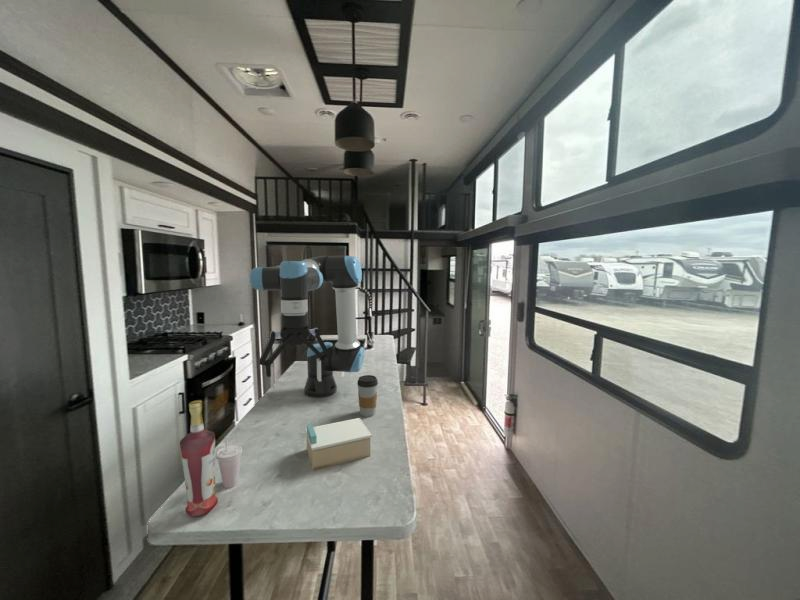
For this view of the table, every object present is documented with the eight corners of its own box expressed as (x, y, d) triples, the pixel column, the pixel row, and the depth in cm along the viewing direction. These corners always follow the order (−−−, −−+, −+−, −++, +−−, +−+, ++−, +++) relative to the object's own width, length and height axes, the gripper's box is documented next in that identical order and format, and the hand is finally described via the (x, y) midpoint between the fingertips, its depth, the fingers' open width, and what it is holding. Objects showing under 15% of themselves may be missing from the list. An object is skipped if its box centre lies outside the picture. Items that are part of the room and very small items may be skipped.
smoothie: (224, 476, 94) (221, 430, 93) (247, 475, 95) (244, 429, 93) (213, 492, 88) (210, 443, 86) (238, 490, 89) (235, 442, 87)
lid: (305, 430, 108) (305, 421, 107) (359, 419, 115) (359, 411, 115) (311, 450, 96) (311, 440, 96) (371, 437, 104) (371, 427, 104)
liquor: (215, 517, 79) (208, 407, 76) (180, 524, 77) (172, 411, 74) (222, 496, 86) (216, 395, 83) (190, 502, 84) (183, 398, 81)
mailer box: (306, 449, 108) (306, 432, 108) (358, 437, 116) (358, 421, 115) (313, 470, 97) (312, 451, 97) (370, 455, 105) (370, 438, 104)
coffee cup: (374, 419, 130) (374, 382, 128) (354, 417, 131) (354, 381, 129) (380, 409, 138) (380, 375, 136) (361, 408, 139) (361, 374, 138)
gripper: (248, 318, 88) (251, 394, 90) (339, 313, 98) (340, 381, 101) (247, 314, 94) (250, 385, 97) (333, 309, 105) (334, 373, 107)
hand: (296, 383), depth 99 cm, fingers open, 13 cm apart
